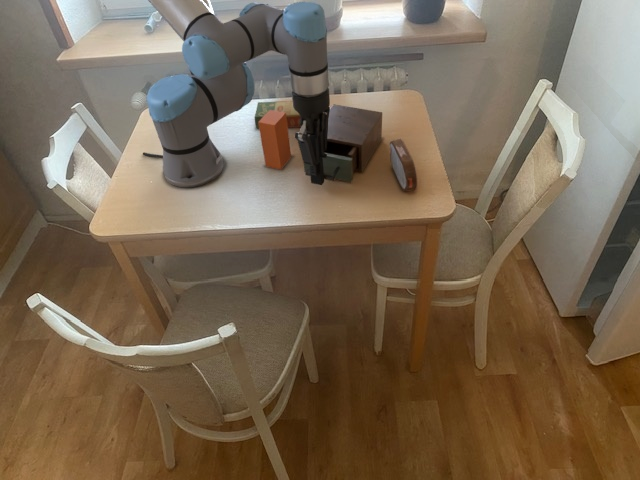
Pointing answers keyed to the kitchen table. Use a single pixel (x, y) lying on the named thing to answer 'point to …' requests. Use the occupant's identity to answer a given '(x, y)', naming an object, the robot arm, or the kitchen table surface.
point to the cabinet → (355, 130)
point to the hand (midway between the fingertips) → (317, 182)
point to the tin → (403, 165)
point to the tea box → (275, 139)
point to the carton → (280, 106)
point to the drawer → (338, 162)
